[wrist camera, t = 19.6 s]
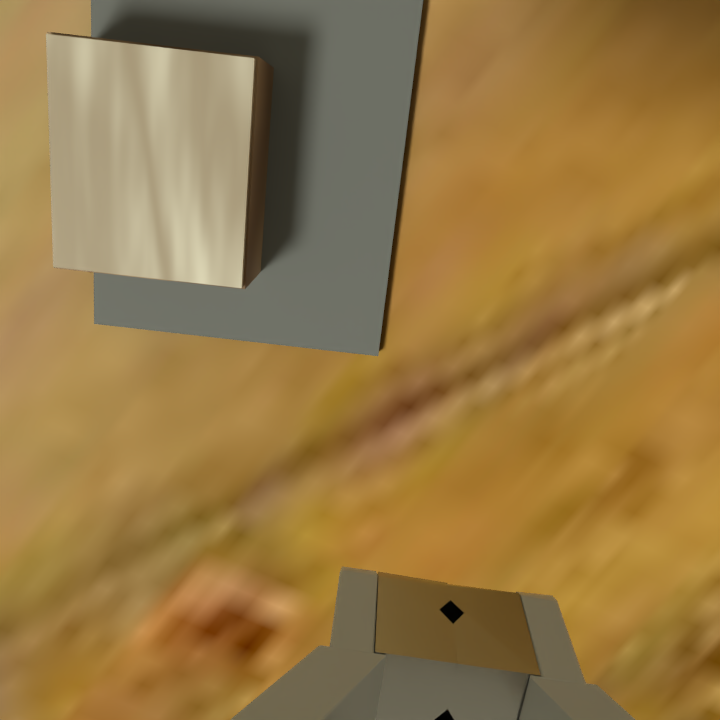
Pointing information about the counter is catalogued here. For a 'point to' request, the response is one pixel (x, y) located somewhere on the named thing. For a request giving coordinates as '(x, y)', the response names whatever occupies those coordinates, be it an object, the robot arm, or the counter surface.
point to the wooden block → (157, 160)
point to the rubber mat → (293, 167)
